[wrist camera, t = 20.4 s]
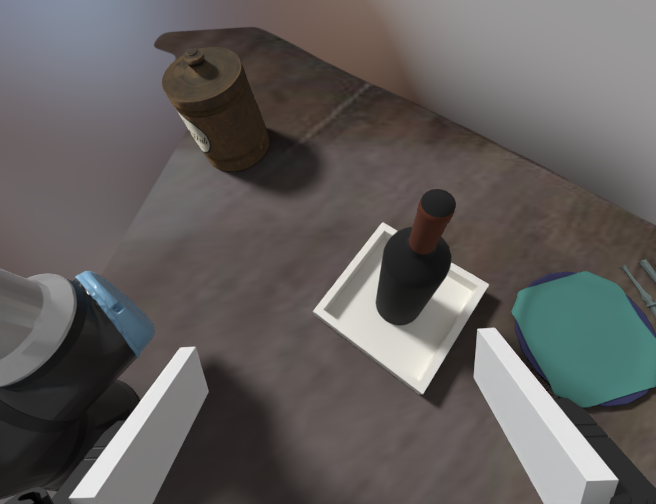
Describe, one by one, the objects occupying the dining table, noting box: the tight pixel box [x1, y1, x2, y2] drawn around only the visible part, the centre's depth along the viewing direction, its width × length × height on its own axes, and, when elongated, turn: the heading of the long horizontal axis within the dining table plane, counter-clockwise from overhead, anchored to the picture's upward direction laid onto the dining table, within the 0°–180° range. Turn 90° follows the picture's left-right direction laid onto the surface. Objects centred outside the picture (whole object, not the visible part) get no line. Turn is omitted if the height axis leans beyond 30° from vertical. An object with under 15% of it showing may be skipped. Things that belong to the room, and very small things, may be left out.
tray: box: [313, 222, 489, 394], centre depth 52 cm, size 20×20×4 cm
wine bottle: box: [376, 189, 456, 326], centre depth 39 cm, size 8×8×30 cm
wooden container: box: [162, 47, 269, 171], centre depth 62 cm, size 15×15×22 cm
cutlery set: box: [511, 260, 656, 407], centre depth 48 cm, size 20×30×2 cm, turn 105°
